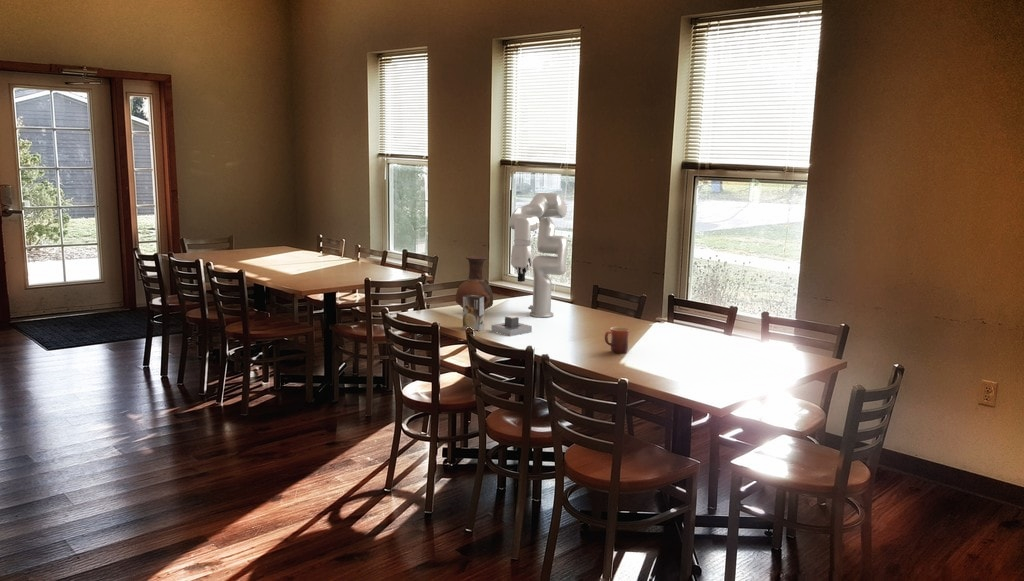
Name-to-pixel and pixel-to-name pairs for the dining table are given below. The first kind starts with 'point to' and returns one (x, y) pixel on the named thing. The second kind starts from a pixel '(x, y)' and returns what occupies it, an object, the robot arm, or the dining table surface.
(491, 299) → the vase
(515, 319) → the plug
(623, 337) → the mug
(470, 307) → the coffee box
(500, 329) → the socket plate
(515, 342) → the dining table surface
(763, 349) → the dining table surface
